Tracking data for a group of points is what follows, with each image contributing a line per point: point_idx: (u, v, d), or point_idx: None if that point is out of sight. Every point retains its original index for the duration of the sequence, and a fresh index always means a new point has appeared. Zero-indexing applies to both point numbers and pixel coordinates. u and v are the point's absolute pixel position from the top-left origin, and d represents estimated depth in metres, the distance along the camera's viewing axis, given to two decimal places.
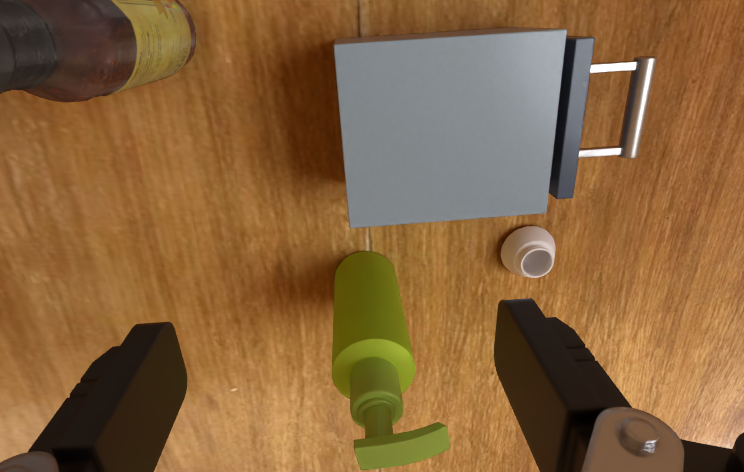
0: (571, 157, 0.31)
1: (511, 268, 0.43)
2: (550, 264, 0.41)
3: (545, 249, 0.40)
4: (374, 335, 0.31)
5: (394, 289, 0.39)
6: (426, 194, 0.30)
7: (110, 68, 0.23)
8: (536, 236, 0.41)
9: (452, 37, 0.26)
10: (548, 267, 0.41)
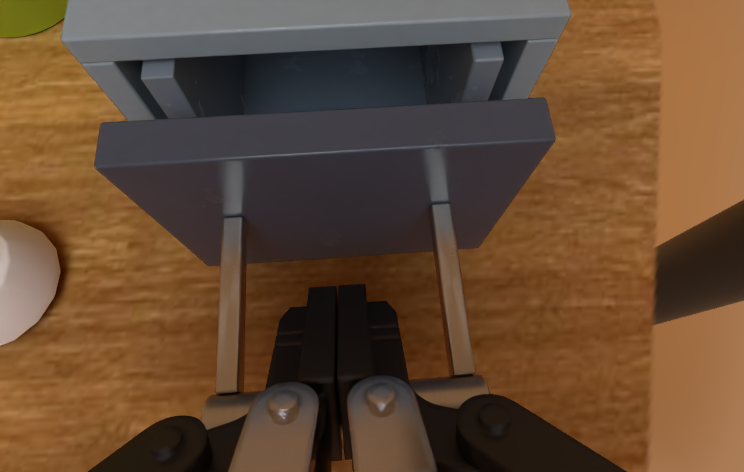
0: (229, 139, 0.10)
1: None
2: None
3: None
4: None
5: None
6: None
7: None
8: (21, 276, 0.16)
9: None
10: None
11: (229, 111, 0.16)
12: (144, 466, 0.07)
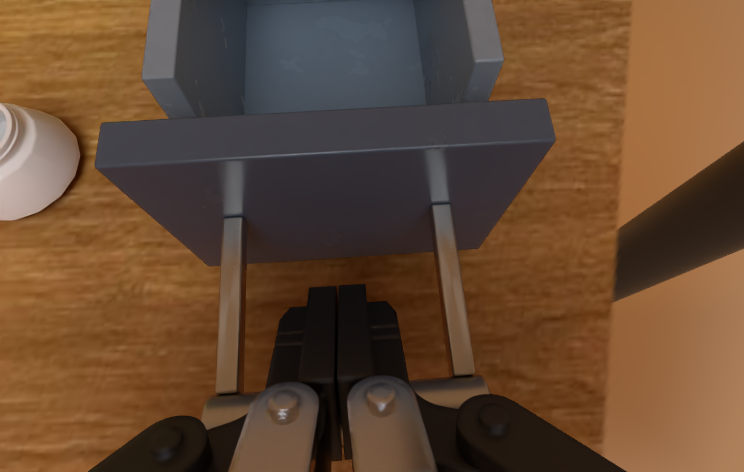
0: (229, 139, 0.10)
1: None
2: None
3: (2, 145, 0.17)
4: None
5: None
6: None
7: None
8: (46, 150, 0.18)
9: None
10: None
11: (229, 111, 0.16)
12: (145, 465, 0.07)
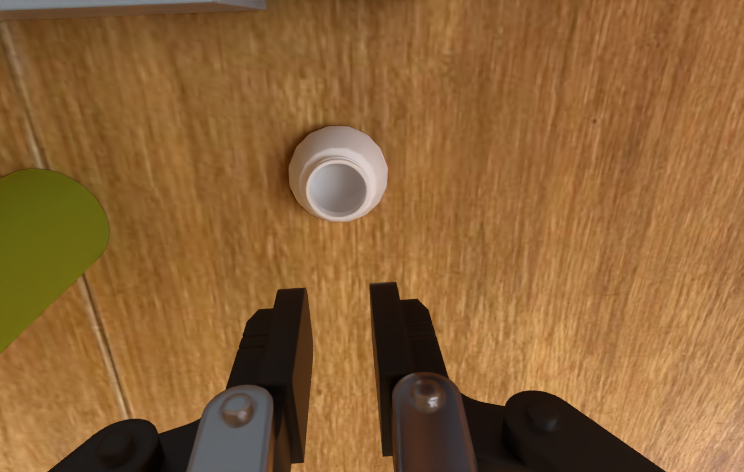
0: None
1: (304, 205, 0.23)
2: (365, 195, 0.22)
3: (349, 163, 0.21)
4: None
5: (22, 229, 0.19)
6: None
7: None
8: (339, 141, 0.22)
9: None
10: (363, 201, 0.22)
11: None
12: (95, 470, 0.07)
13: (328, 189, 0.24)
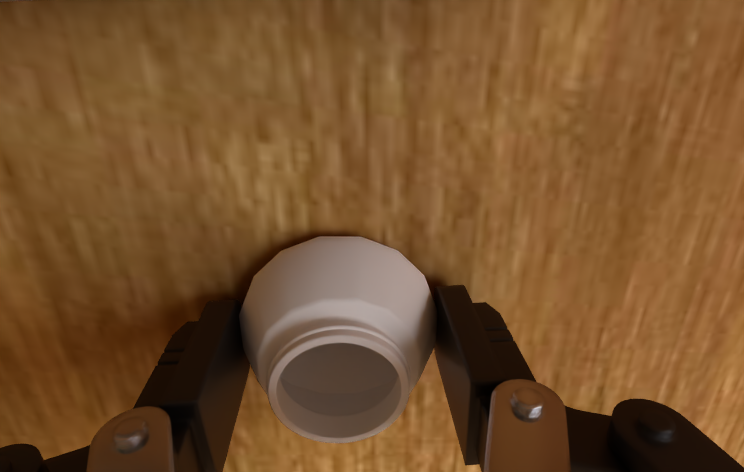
0: None
1: None
2: (398, 395, 0.10)
3: (365, 340, 0.09)
4: None
5: None
6: None
7: None
8: (342, 280, 0.10)
9: None
10: (393, 405, 0.10)
11: None
12: None
13: None
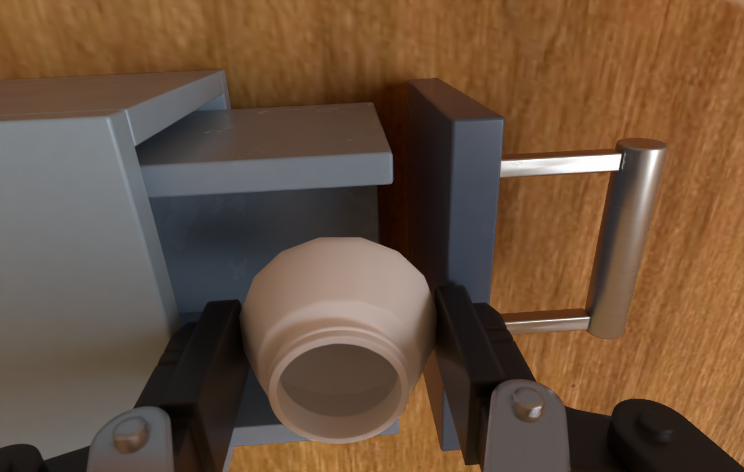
0: None
1: None
2: (399, 396, 0.10)
3: (365, 341, 0.09)
4: None
5: None
6: None
7: None
8: (342, 280, 0.10)
9: None
10: (393, 405, 0.10)
11: None
12: None
13: None
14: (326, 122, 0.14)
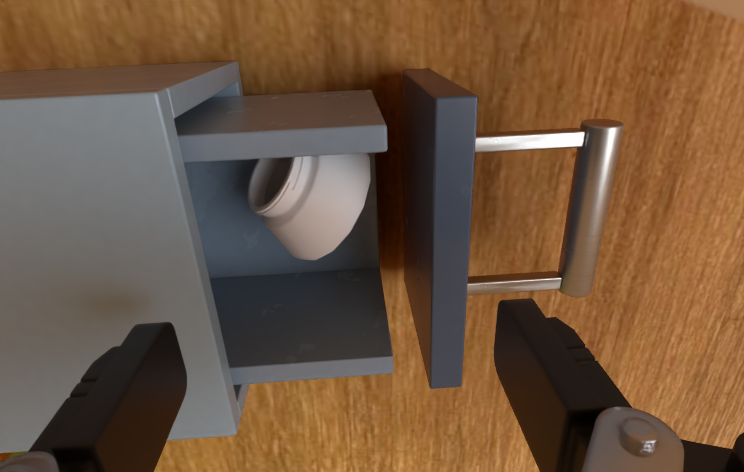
0: (450, 321, 0.16)
1: None
2: None
3: None
4: None
5: None
6: None
7: None
8: None
9: None
10: None
11: (332, 291, 0.20)
12: None
13: None
14: (331, 104, 0.16)
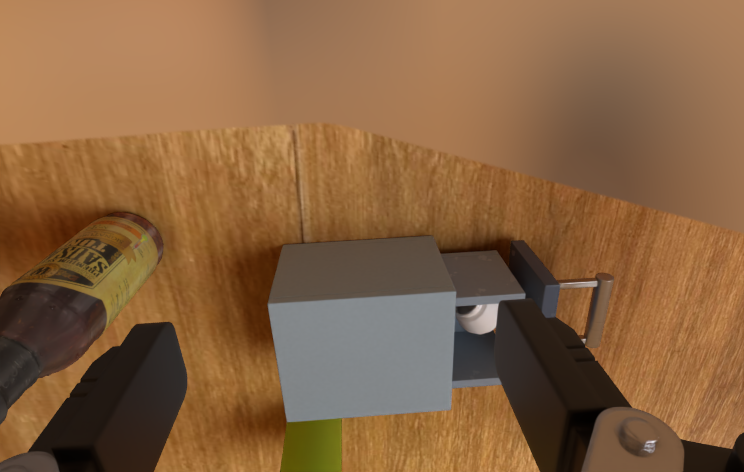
0: None
1: None
2: None
3: None
4: None
5: (334, 443, 0.45)
6: (349, 399, 0.37)
7: (84, 348, 0.29)
8: None
9: (363, 297, 0.33)
10: None
11: (474, 343, 0.42)
12: None
13: None
14: (489, 269, 0.38)
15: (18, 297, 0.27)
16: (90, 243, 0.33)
